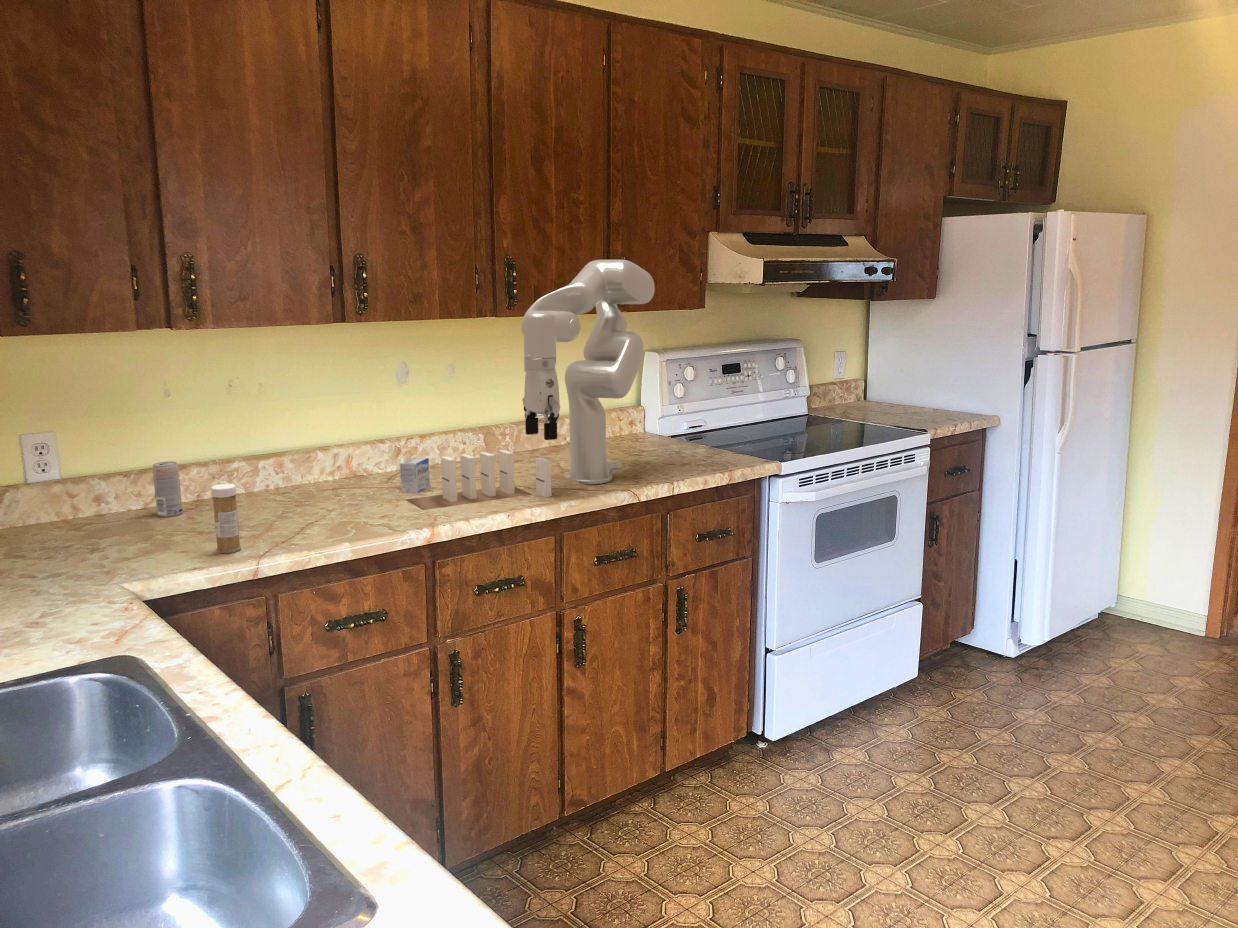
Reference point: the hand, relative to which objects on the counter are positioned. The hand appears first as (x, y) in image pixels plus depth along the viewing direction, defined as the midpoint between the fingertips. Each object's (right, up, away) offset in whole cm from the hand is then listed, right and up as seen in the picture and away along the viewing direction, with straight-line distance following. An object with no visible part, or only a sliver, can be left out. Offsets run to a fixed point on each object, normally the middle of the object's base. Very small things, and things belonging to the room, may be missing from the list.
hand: (541, 436), depth 231 cm
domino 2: (-17, -14, +2) cm, 23 cm away
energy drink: (-85, -18, -8) cm, 88 cm away
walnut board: (-17, -16, +2) cm, 23 cm away
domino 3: (-13, -14, +4) cm, 20 cm away
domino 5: (0, -15, +4) cm, 16 cm away
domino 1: (-22, -15, -1) cm, 26 cm away
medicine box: (-32, -14, +10) cm, 37 cm away
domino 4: (-9, -13, +7) cm, 18 cm away
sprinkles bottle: (-60, -24, -37) cm, 74 cm away
